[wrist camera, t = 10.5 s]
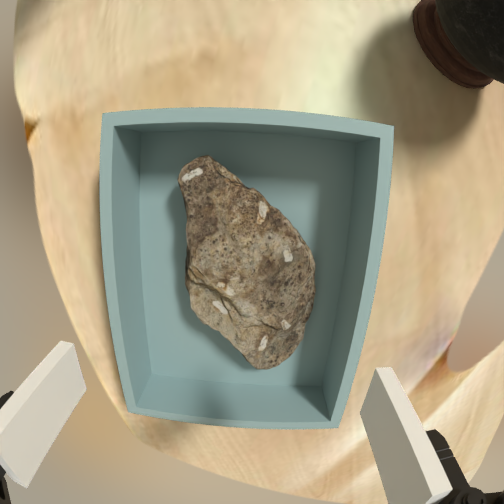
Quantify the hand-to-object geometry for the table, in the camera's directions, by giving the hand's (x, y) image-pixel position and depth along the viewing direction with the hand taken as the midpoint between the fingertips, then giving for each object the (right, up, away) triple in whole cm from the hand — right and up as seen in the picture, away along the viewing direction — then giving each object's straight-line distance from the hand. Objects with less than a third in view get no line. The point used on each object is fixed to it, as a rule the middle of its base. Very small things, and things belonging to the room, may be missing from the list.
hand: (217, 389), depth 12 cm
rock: (+1, +4, +15) cm, 16 cm away
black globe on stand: (+23, +28, +9) cm, 37 cm away
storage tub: (0, +4, +16) cm, 17 cm away
